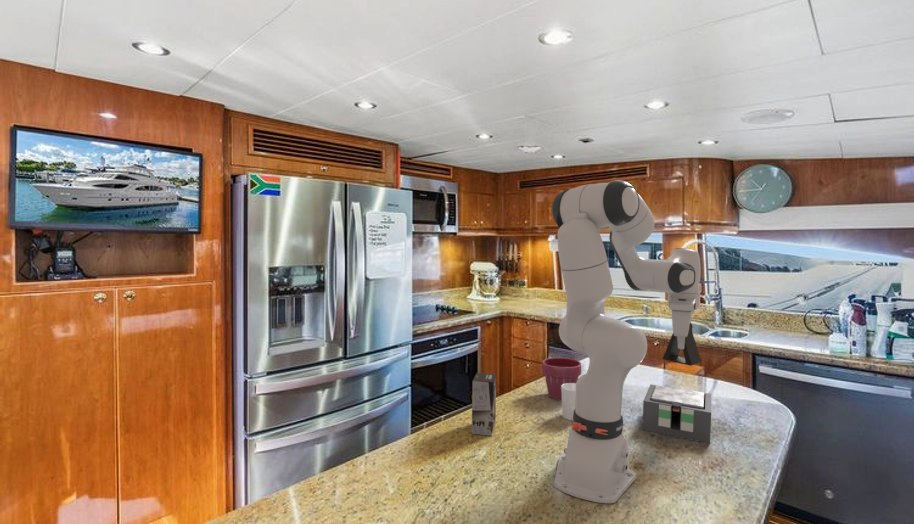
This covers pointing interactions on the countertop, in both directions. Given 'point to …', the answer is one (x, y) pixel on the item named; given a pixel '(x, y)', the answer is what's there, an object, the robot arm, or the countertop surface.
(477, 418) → the coffee box
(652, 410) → the scale housing
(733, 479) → the countertop surface
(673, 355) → the phone stand
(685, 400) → the pan
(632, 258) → the robot arm
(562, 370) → the plant pot
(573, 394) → the white cup
